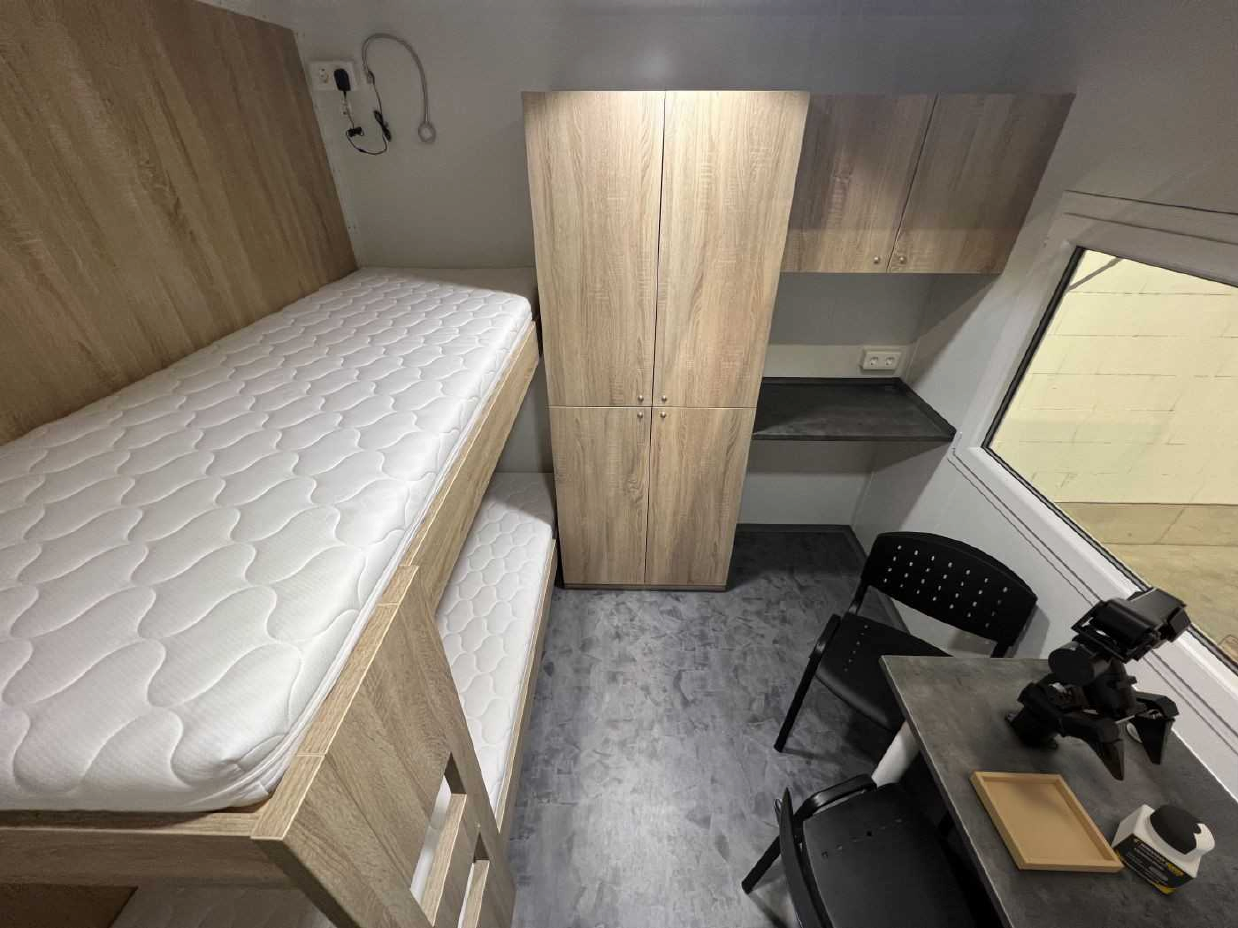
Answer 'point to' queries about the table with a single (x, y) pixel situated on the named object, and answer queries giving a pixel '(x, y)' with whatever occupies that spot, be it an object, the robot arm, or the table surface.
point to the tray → (1044, 823)
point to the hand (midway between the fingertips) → (1138, 771)
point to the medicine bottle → (1163, 845)
